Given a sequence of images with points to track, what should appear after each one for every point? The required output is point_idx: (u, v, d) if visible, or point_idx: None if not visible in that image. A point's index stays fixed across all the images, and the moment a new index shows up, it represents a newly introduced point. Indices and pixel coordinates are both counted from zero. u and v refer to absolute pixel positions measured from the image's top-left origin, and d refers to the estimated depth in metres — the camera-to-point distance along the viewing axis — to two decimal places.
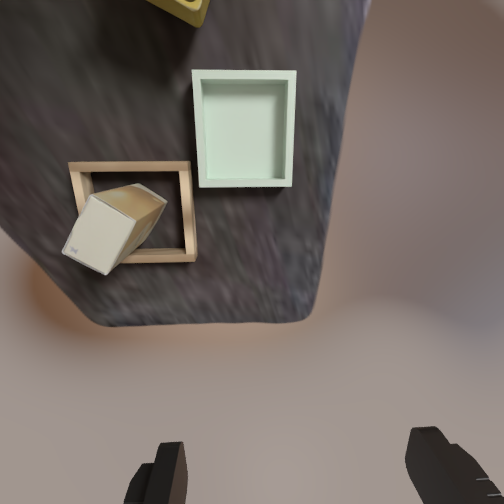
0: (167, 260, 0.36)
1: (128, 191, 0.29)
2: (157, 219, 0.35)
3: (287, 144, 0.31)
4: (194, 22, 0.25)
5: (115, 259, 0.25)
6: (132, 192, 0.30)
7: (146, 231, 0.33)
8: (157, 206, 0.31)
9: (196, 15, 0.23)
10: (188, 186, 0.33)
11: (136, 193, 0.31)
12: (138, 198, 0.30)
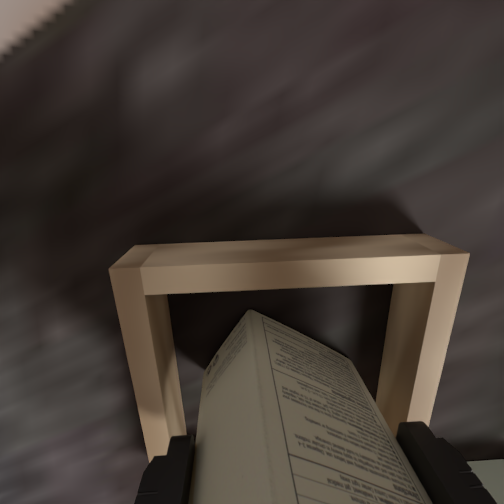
0: None
1: None
2: None
3: None
4: None
5: None
6: None
7: None
8: None
9: None
10: None
11: None
12: None
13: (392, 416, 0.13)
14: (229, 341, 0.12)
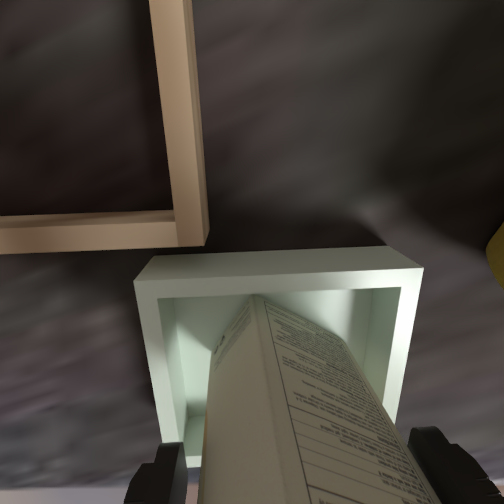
0: None
1: None
2: None
3: None
4: None
5: None
6: None
7: None
8: None
9: None
10: (133, 245, 0.11)
11: None
12: None
13: None
14: (234, 323, 0.14)
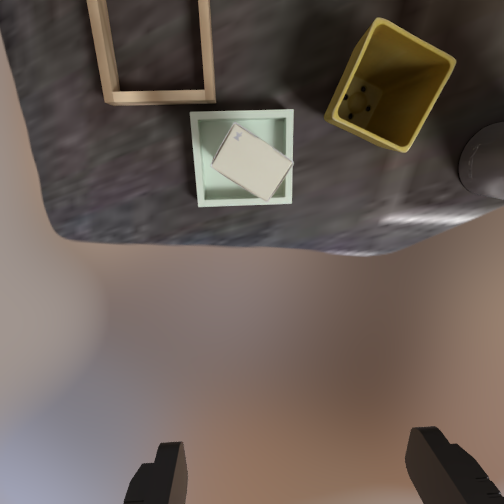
0: (100, 66, 0.30)
1: None
2: None
3: (234, 200, 0.35)
4: (326, 114, 0.30)
5: (228, 177, 0.25)
6: None
7: None
8: None
9: (329, 116, 0.28)
10: (189, 99, 0.32)
11: None
12: None
13: None
14: None
